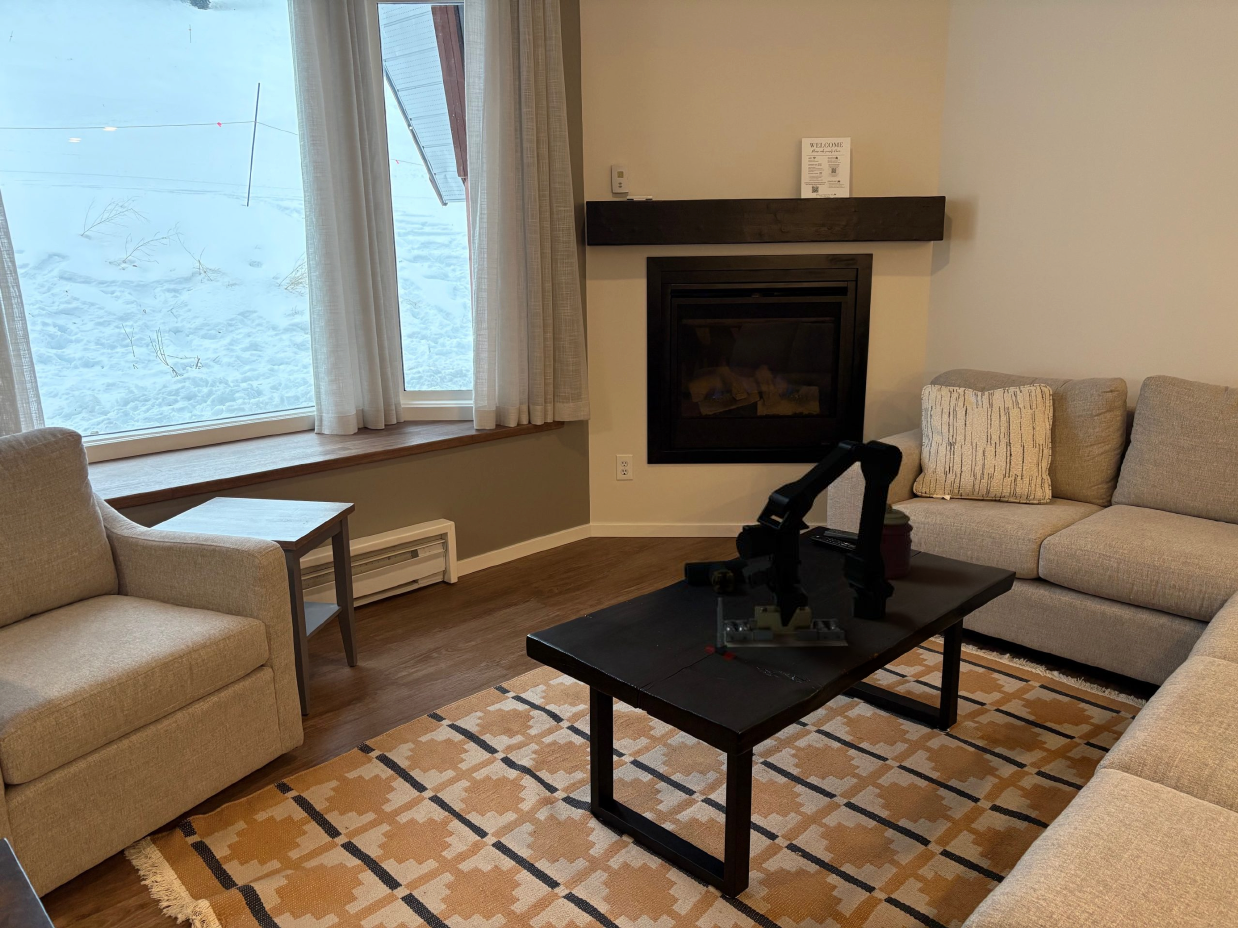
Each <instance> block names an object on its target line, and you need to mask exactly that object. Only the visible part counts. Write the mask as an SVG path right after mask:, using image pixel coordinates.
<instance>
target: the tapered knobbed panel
mask: <svg viewBox="0 0 1238 928" xmlns="http://www.w3.org/2000/svg"><path fill="white" fill-rule="evenodd" d="M754 618H755V625H754V626H755V629H756V630H773V633H785V632H797V629H811V624H812V610H811V609H810V607H809V605H808V606H807V607H798V609H797V610H796V612H795V614H794V615H793V617H792V619H791V621H790V623H789V624H788V626H787V627H783V626H782V624H781V617H780V611H779V607H777V606H776V605H763V606H762V605H760V606H759V605H758V606H754Z"/></svg>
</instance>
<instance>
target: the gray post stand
mask: <svg viewBox="0 0 1238 928" xmlns="http://www.w3.org/2000/svg"><path fill="white" fill-rule="evenodd" d="M717 600H718V601H717V603H718V604H717V610H716V611H717V616H716V617H717V619H716V620H717V633H716V644H715V645H713V646H714V647H712V646H711V647H710V646H706V647H705V651H706V652H709V653H712V654H714V653H715V654H718V655H721V656H722V658H725V659H728V660H729V661H731V660H732V659H735V658H736V657H737V656H738V655H737V654H736V653H732V652H728V647H727V645H725V643H724V621H723V620H724V607H723V597H718V598H717Z"/></svg>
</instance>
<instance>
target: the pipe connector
mask: <svg viewBox="0 0 1238 928" xmlns="http://www.w3.org/2000/svg"><path fill="white" fill-rule="evenodd" d="M747 566H749V565H748V562H747V560H744V559H731V560H730V559H729V560H713V561H711V560H710V561H695V562H684V567H683V574H684V580H685V582H686V583H687V584H693V583H694V584H697V583H698V584H699V583H711V584H712V586H713V587H712V588H713V589H714V591H715V592H716V593H723V592H729V593H730V592H734V585H735V581H746V579H745V577H744V574H743V571H742V569H743V568H745V567H747ZM687 580H688V581H687Z"/></svg>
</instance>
